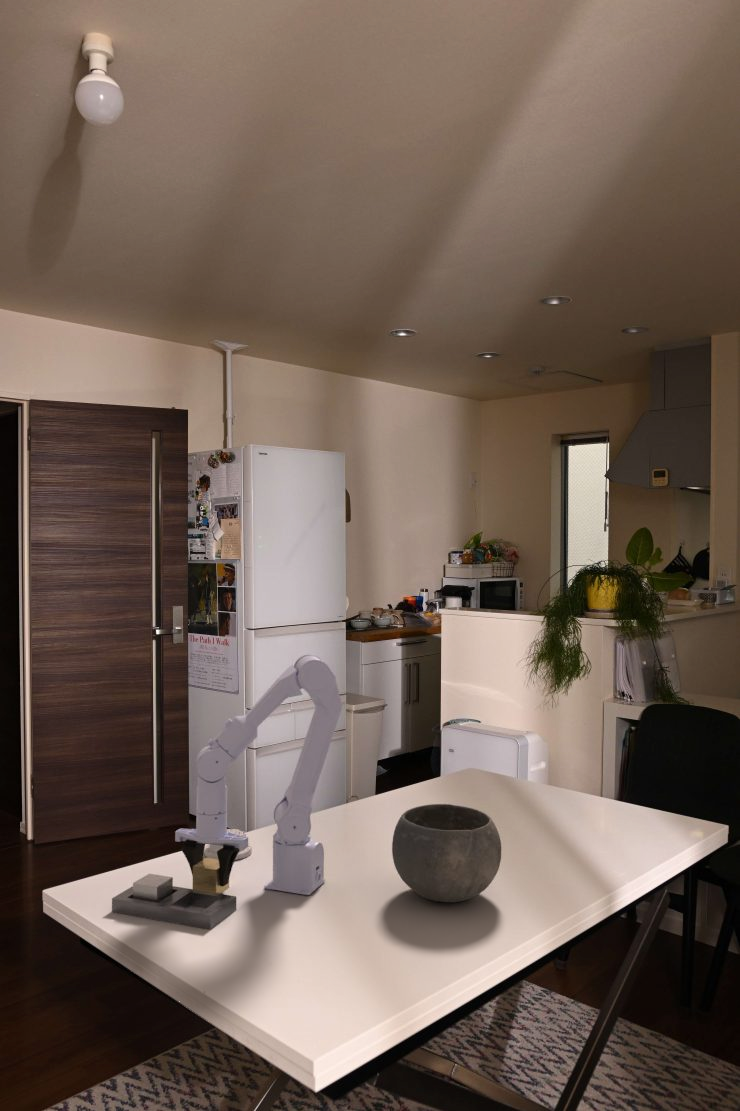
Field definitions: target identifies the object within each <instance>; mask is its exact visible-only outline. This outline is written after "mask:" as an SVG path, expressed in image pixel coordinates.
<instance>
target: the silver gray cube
mask: <svg viewBox="0 0 740 1111" xmlns="http://www.w3.org/2000/svg"><path fill="white" fill-rule="evenodd" d="M173 879H174V878H173V876H172V877H171V876H166V875H160V874H154V873H147V874H146V875H144V876H143V877H140V878H139V879H138V880H135V881H133V884H132V886H133V899H138V900H143V901H149V902H155V903H159V902H161V901H162V900H164V899H165V898H167V897H168V896H170V895H171V894H173V886H174V884H173V883H174V880H173Z"/></svg>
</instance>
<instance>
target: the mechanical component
mask: <svg viewBox="0 0 740 1111" xmlns="http://www.w3.org/2000/svg"><path fill="white" fill-rule="evenodd" d="M227 832H231V833H234V834H237V835H241V836H245V837H247V834H246V832H245V831H242V830H240V829H238V828H237V829H235V828H233V829H232V828H227ZM221 848H223V846H218V845H210V844H205V848H204V854H203V856H204V857H205V858H212V859H218V856H217V851H218V850H220V849H221ZM252 849H253V847H252V844H251V843H249V842H248V847H247V848H246V849H244V850H240V851H239V852H238V854H237V856H236V859H235V861H237V860H242V859H245V858H247V857H249V856H250V855H252V851H253V850H252Z"/></svg>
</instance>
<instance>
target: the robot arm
mask: <svg viewBox="0 0 740 1111" xmlns="http://www.w3.org/2000/svg"><path fill="white" fill-rule="evenodd" d="M302 689H303V690H304V692H306V693H307V694H308V696H309V697H310V699H311V702H312V703H313V705H314V707H315V709H314V712H313V714H312V718H311V720H310V724H309V726H308V730H307V732H306V735H305V739H304V741H303V745H302V748H301V750H300V753H299V757H298V760H297V763H296V766H295V769H294V772H293V775H292V778H291V781H290V784H289V786H288V787H287V788H286V790H285V792H284V795H283V797H282V799H281V800H280V801H279V802H278V803H277V804H276V805H275V808H274V810H273V819H274V822H275V824H276V826H277V830H276V831H275V833H274V834H273V835H272V879H271V880H270V881H268V882H267V883H266V884H264V886H263V888H264V889H267V890H273V891H274V890H275V891H279V892H285V893H294V894H299V895H305V896H309V895H311V894H312V893H313V892H314V891H315V890H317V889H318V888H319V887H320V886H321V885H322V884H324V883H325V882H326V879H325V878H324V876H325V875H324V874H325V872H324V870H325V867H324V866H325V865H324V864H325V863H324V862H325V850H324V846H323V843H322V842H320V841H315V840H314V839H313V838H311V837H312V836H311V829H312V823H311V814H312V811H313V806H314V805H313V804H314V797H315V796H314V795H315V791H316V788H317V785H318V783H319V780H320V776H321V773H322V769H323V768H324V764H325V761H326V758H327V755H328V753H329V749H330V746H331V743H332V740H333V737H334V734H335V730H336V728H337V725H338V722H339V719H340V715H341V713H342V710H343V709H342V708H343V703H342V698H341V695H340V692H339V687H338V683H337V678H336V675H335V673H334V672H333V670H331V668H330V667H329V665H328V664H327V663H326V662H325V661H323V660H322V658H320V657H319V656H317V655H315V654H311V653H310V654H309V653H308V654H307V653H306V654H304V655H302V656H300V657H298V658H297V659H296V660H295V662H294V664H291V665H290V666H289V667H287V668H286V669H285V670H284V671H283V673H282V674H281V675H279V676H278V678H277V679H276V680H275V681H274V682H273V684H271V685H270V687H269V688H268V689H267V690H266V691H265V692H264V693H263V695H262V696H261V697H260V698H259V699H258V701H257V702H256V703H255V704H253V706H252V707H251V709H249V710H248V712H247V713H246V714H244V715H235V716H234V717H233V719H231V718H228V719H227V720H225V722H224V725H225V727H224V728H223V729H222V730H221V731H220V732H219V733H218V734H217V735H216V737H214V739H213V738H210V739H209V740H208V741H207V745H208V746H205V747H203V748H201V749H200V751H199V752H198V754H197V756H196V758H195V763H196V764H195V765H196V771H197V772H198V773H197V775H198V776H197V779H196V783H197V786H196V792H195V793H196V806H195V807H196V811H195V812H196V814H195V815H196V820H195V821H196V822H195V823H196V826H195V827H196V828H179V829H177V830H176V831H174V833H175V834H174V835H175V836H174V838H175V839H174V840H175V842H184V845H183V846H182V845H181V851H182V853H183V854H184V857H185V859H186V861H187V863H188V865H189V868H190V872H191V874H192V875H191V876H192V877H193V866H194V865H196V864H197V863H199V862H200V861H202V860H204V848H205V846H206V845H208V844H210V845H218V846H223V848H221V849H220V850H218V851H217V856H218V860H219V867H220V886H225V885H226V884H228V882H229V883H230V876H231V873H232V869H233V865H234V863H235V861H236V860H235V859H236V856H237V854H238V852H239V851H240V850H244V849H246V848H247V847H248V843H249V836H246V837H245V836H241V835H237V834H234V833H231V832H227V829H228V827H227V826H228V805H227V804H228V786H227V784H226V783H227V780H226V779H227V774H228V772H229V770H230V764H231V763H233V762H235V761H236V760H237V759H238V758H239V757H240V756H241V755H242V754H243V753H244V751H246V750H247V748H248V747H249V746H251V744H253V742H254V741H255V740H256V739H257V738H258V728H259V727H260V725H261V724H262V723H263V722H264V721H265V720H266V719H267V718H268V717H269V716H271V714H272V713H274V711H275V710H277V709H278V707H279V706H280V705H282V703H283V702H284V701H285V700H287V699H288V698H293V697H298V696H302V695H303V692H302V691H301V690H302Z"/></svg>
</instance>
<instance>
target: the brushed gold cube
mask: <svg viewBox="0 0 740 1111" xmlns="http://www.w3.org/2000/svg"><path fill="white" fill-rule="evenodd" d="M228 888H230V881H229V882H228V884H226V885H225V886H220V867H219V860H218V859H212V858H207V857H204V858H203V860H202V861H200V862H199V863H197V864H196V865H194V866H193V876H192V889H194V890H200V891H206V892H212V893H218V894H223V892H225V891H226V890H228Z"/></svg>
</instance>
